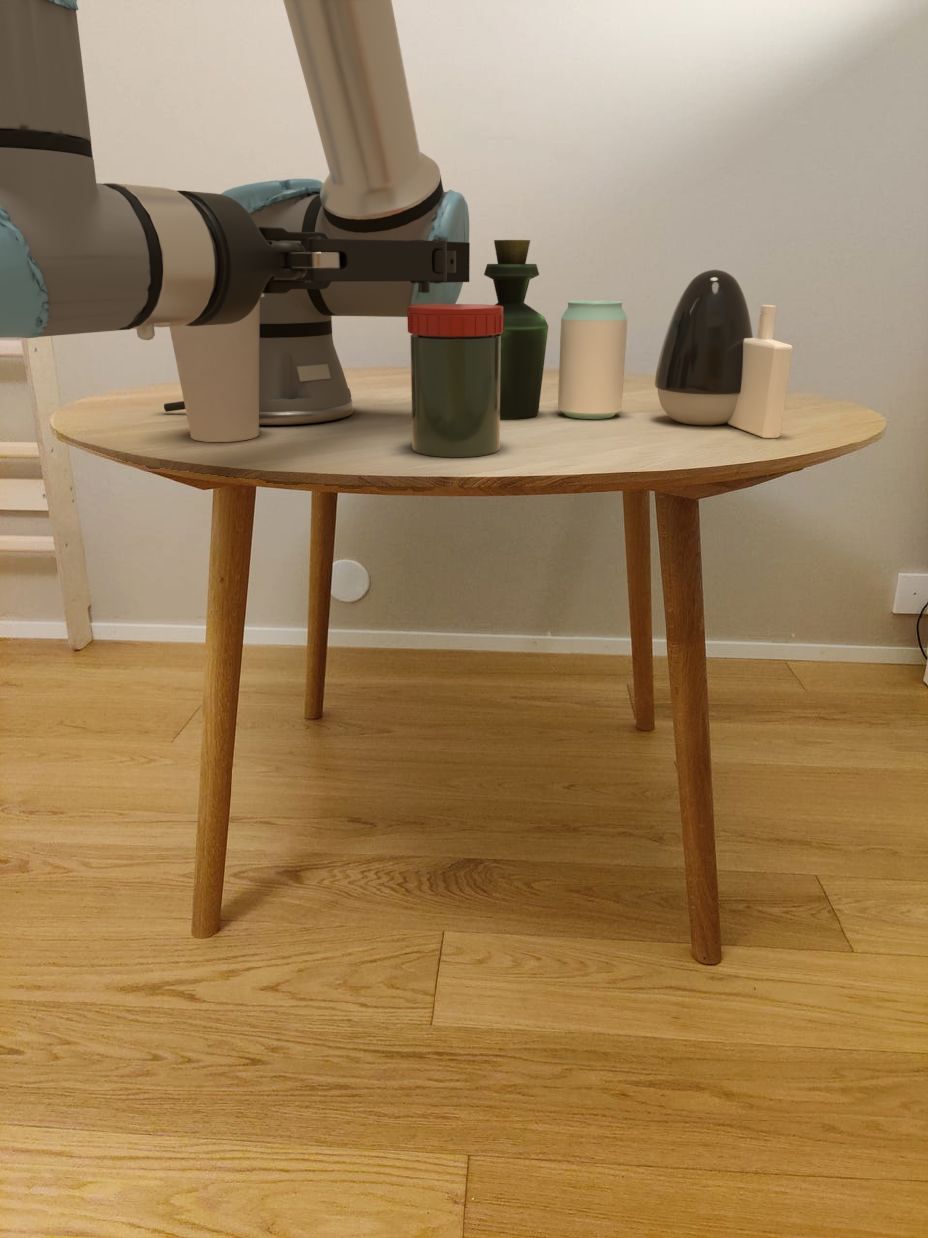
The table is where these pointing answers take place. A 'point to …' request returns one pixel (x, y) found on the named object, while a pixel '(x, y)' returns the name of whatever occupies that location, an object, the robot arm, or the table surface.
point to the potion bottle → (518, 331)
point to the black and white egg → (704, 351)
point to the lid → (455, 319)
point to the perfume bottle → (763, 380)
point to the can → (592, 359)
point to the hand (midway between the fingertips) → (390, 262)
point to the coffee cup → (220, 378)
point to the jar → (455, 395)
